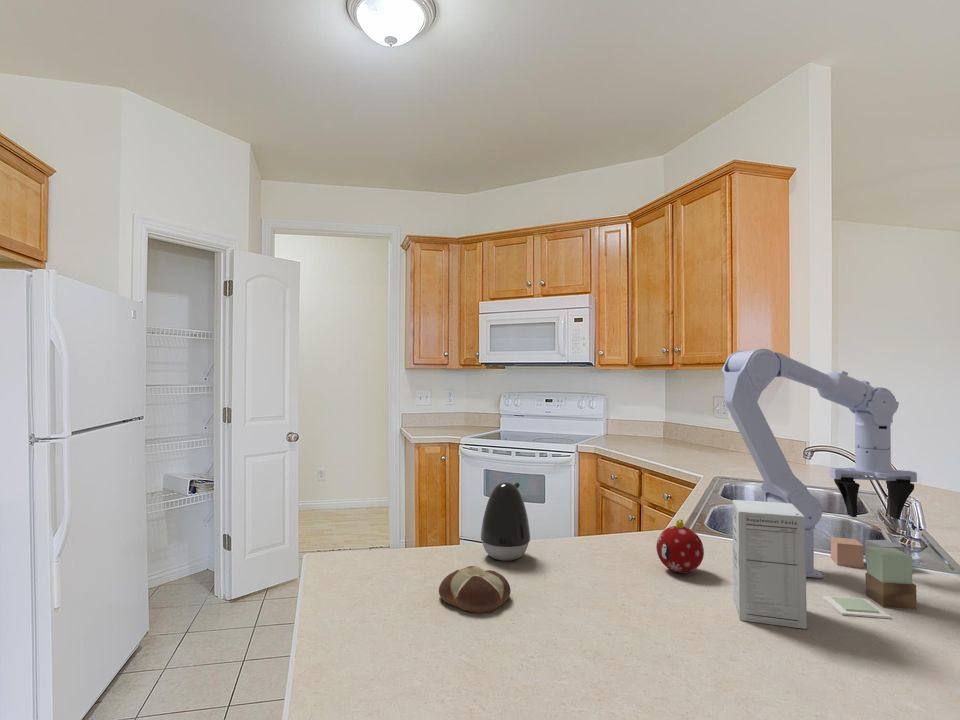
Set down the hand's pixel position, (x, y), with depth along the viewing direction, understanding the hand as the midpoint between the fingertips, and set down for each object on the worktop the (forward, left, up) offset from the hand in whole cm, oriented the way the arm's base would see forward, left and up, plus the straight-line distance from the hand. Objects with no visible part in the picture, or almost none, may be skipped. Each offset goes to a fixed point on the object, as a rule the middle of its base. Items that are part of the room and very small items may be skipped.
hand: (873, 517), depth 107 cm
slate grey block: (+4, +4, -10) cm, 12 cm away
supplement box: (-28, -25, -11) cm, 39 cm away
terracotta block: (-3, +4, -10) cm, 12 cm away
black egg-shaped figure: (-72, -6, -11) cm, 73 cm away
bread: (-74, -28, -11) cm, 80 cm away
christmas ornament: (-38, -8, -11) cm, 40 cm away
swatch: (-13, -20, -10) cm, 26 cm away
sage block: (-6, -16, -6) cm, 18 cm away
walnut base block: (-6, -16, -11) cm, 20 cm away
